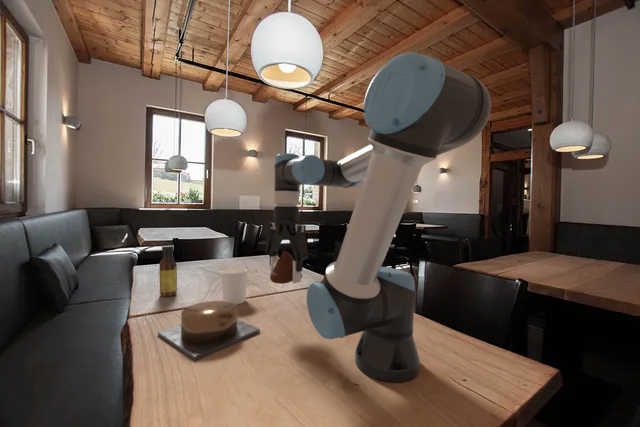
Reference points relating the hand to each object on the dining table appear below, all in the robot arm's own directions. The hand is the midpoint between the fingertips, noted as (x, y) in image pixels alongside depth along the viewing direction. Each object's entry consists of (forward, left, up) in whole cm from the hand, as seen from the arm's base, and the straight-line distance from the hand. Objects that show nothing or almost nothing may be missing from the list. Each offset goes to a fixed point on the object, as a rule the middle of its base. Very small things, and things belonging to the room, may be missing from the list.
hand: (285, 279), depth 87 cm
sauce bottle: (+57, +9, -15) cm, 60 cm away
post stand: (+13, +17, -15) cm, 26 cm away
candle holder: (+31, -4, -15) cm, 35 cm away
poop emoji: (0, 0, -1) cm, 1 cm away
